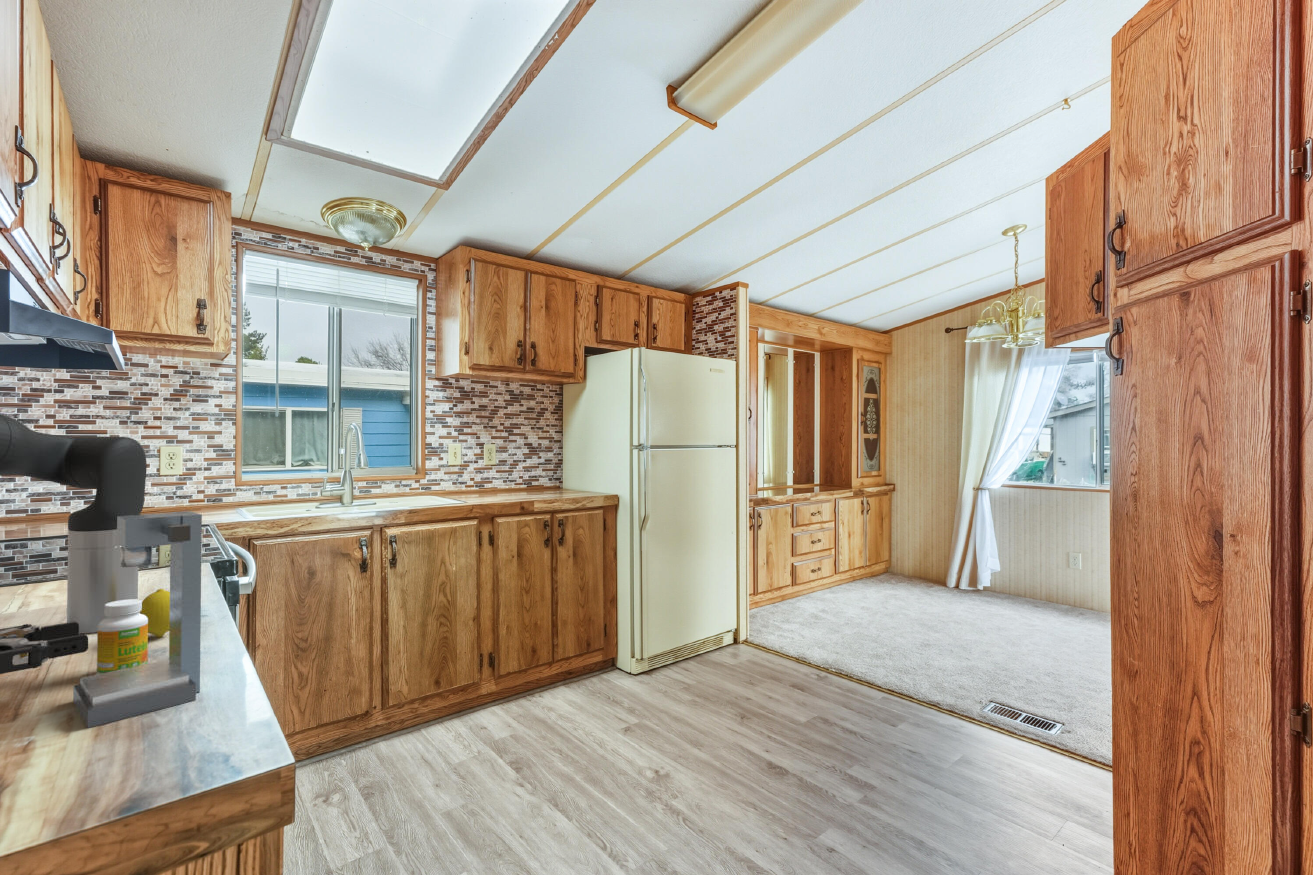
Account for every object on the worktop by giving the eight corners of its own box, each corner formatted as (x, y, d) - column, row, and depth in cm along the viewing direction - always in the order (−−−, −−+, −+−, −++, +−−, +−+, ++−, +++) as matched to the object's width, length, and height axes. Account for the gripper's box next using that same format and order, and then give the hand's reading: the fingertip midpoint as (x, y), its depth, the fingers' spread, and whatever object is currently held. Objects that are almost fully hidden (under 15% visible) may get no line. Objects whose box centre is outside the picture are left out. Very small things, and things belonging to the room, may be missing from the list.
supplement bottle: (117, 680, 83) (118, 608, 83) (86, 677, 84) (87, 606, 84) (157, 666, 88) (158, 598, 88) (127, 663, 89) (128, 596, 90)
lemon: (154, 632, 104) (154, 585, 104) (188, 631, 104) (189, 584, 104) (128, 643, 98) (129, 593, 98) (165, 642, 99) (166, 592, 99)
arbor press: (73, 701, 76) (75, 516, 76) (182, 675, 85) (184, 509, 85) (93, 738, 67) (96, 527, 67) (214, 705, 75) (216, 518, 75)
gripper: (-111, 650, 66) (92, 617, 79) (-105, 624, 75) (75, 599, 88) (-111, 719, 66) (91, 676, 79) (-106, 685, 75) (75, 651, 88)
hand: (83, 635), depth 83 cm, fingers open, 8 cm apart
